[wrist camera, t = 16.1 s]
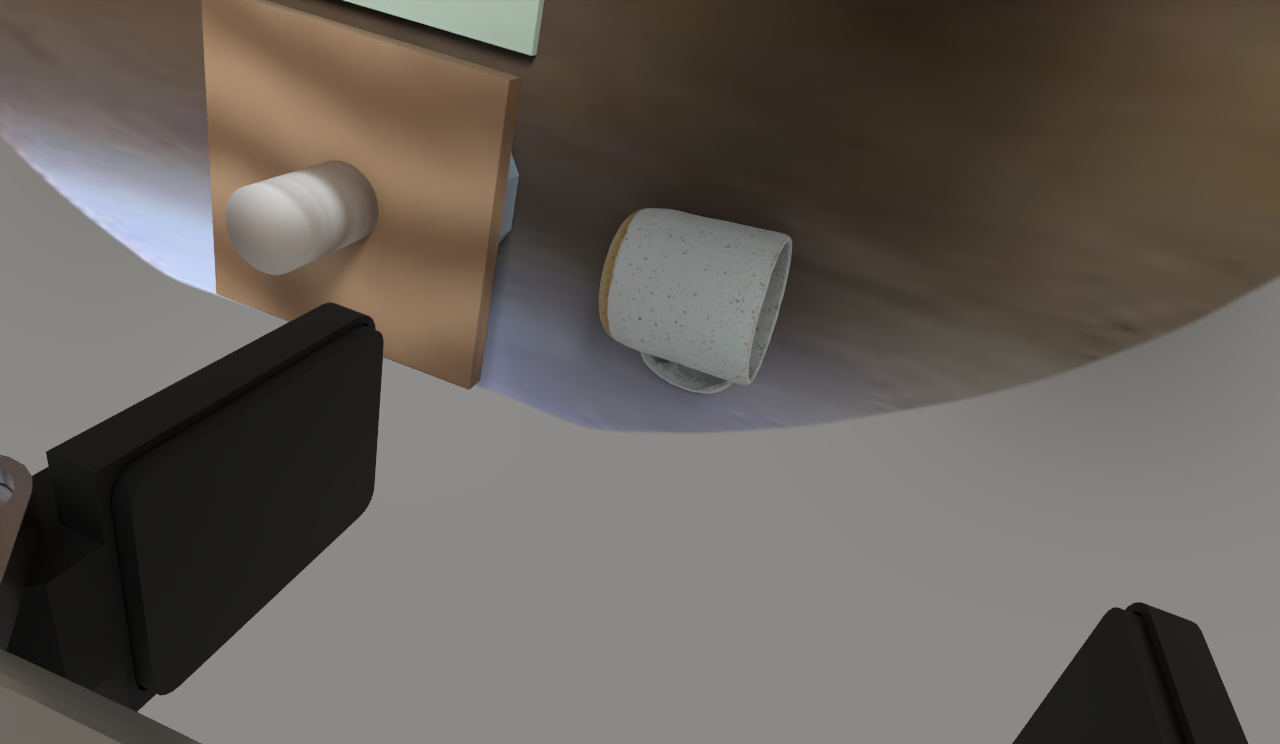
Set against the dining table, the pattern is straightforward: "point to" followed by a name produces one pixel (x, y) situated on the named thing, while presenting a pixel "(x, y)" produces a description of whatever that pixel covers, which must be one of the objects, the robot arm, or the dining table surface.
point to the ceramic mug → (694, 295)
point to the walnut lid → (357, 178)
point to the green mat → (474, 19)
